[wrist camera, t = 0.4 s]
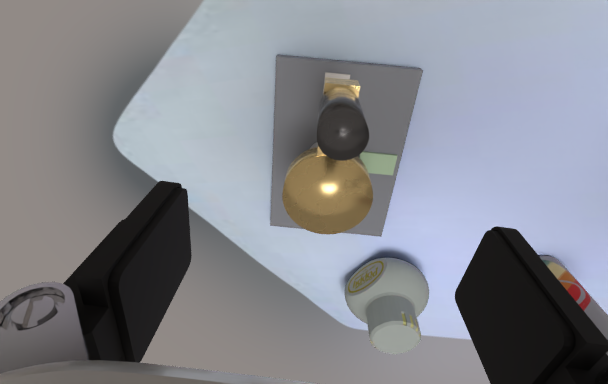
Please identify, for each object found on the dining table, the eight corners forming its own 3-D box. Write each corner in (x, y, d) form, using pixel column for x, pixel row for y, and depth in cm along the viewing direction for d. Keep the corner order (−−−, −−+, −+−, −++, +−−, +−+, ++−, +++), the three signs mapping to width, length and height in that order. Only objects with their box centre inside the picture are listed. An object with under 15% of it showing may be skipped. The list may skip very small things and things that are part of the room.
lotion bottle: (519, 255, 44) (645, 424, 26) (565, 253, 43) (726, 424, 26) (510, 286, 46) (619, 457, 29) (554, 284, 46) (692, 458, 29)
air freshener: (372, 309, 50) (382, 374, 42) (334, 281, 48) (336, 343, 39) (433, 272, 46) (457, 336, 37) (394, 238, 43) (411, 298, 35)
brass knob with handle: (391, 82, 26) (415, 114, 19) (362, 223, 33) (371, 283, 26) (291, 73, 27) (279, 101, 19) (283, 215, 34) (271, 273, 26)
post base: (419, 68, 33) (441, 84, 27) (379, 230, 43) (388, 269, 37) (277, 54, 33) (267, 67, 27) (271, 219, 43) (262, 256, 37)
